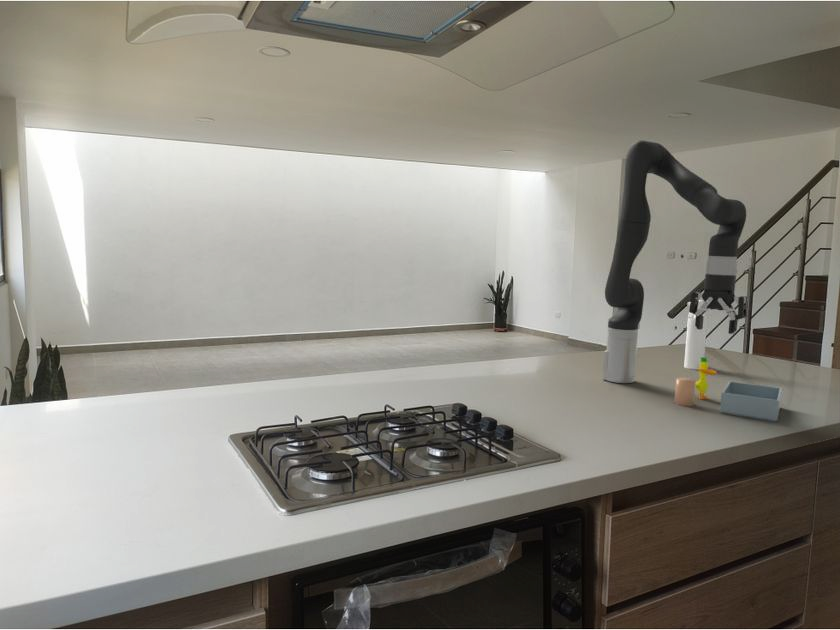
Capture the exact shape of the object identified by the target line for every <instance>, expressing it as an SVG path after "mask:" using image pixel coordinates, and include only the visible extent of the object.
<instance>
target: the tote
mask: <svg viewBox="0 0 840 630" xmlns="http://www.w3.org/2000/svg"><path fill="white" fill-rule="evenodd" d="M782 390H783V388H782V387H776V386H768V385H761V384H753V383H746V382H738V381H730V380H729V381H728V382H727V384H726V386H725V387H724V388H723V390H722V391H721V396H720V407H719V413H720V414H725V415H731V416H737V417H743V418H748V419H749V418H750V419H755V420H760V421H761V420H762V421H766V422H767V421H768V422H775V423H778V420H779V419H778V418H779V414H780V409H781V400H782V392H783V391H782Z"/></svg>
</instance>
